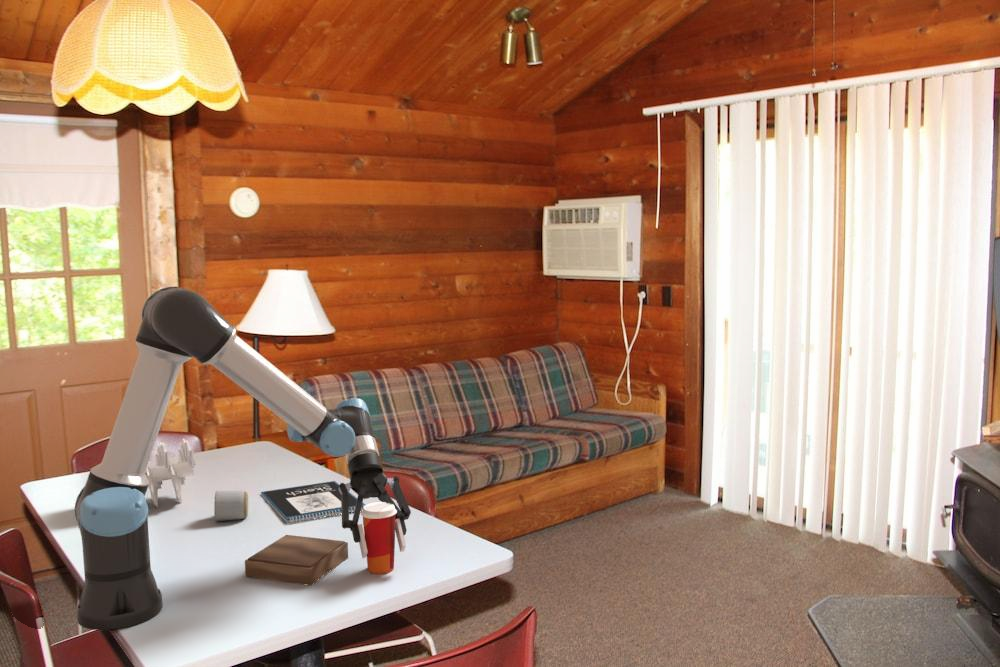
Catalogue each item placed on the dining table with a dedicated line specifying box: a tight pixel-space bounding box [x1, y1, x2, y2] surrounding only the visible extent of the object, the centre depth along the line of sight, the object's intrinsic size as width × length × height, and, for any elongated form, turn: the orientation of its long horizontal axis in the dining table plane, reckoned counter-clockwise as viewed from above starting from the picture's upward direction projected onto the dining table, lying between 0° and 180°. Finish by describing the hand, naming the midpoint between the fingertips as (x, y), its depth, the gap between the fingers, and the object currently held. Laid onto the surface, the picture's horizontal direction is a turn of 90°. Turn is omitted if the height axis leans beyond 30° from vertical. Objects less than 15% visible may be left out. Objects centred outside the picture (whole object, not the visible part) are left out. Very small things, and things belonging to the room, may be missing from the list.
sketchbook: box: [260, 480, 366, 525], centre depth 232 cm, size 22×30×2 cm
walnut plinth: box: [244, 534, 349, 586], centre depth 186 cm, size 16×16×4 cm
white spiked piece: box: [145, 438, 196, 508], centre depth 229 cm, size 18×18×25 cm
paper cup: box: [360, 501, 397, 575], centre depth 184 cm, size 8×8×14 cm
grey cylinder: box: [213, 490, 249, 522], centre depth 220 cm, size 11×8×8 cm
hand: (384, 551), depth 181 cm, fingers closed on paper cup, 8 cm apart
